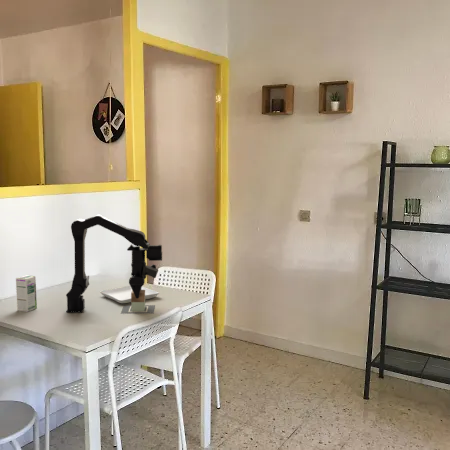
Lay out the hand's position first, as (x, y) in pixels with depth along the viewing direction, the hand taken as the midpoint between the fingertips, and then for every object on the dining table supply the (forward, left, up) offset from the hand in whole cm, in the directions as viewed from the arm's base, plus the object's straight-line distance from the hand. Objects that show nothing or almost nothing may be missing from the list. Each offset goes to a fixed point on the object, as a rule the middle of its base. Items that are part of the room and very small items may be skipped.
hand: (138, 295), depth 212 cm
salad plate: (-6, +20, -7) cm, 22 cm away
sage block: (0, 0, -6) cm, 6 cm away
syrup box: (-48, +2, -7) cm, 49 cm away
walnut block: (0, 0, -2) cm, 2 cm away
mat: (0, 0, -7) cm, 7 cm away
